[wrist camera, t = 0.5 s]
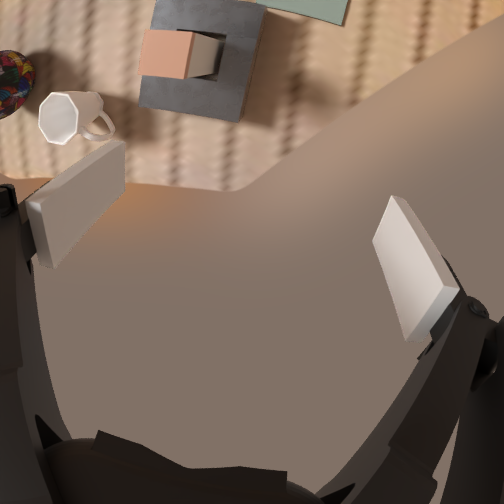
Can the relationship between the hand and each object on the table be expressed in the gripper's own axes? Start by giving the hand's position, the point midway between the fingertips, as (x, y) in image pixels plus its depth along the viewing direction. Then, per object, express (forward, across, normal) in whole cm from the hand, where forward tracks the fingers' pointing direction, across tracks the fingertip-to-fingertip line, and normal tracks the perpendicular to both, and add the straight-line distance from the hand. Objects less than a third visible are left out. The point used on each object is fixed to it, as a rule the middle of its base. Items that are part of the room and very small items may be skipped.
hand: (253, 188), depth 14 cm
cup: (+25, -24, -3) cm, 35 cm away
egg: (+25, -39, +2) cm, 47 cm away
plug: (+25, -9, +5) cm, 27 cm away
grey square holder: (+25, -9, +5) cm, 27 cm away
